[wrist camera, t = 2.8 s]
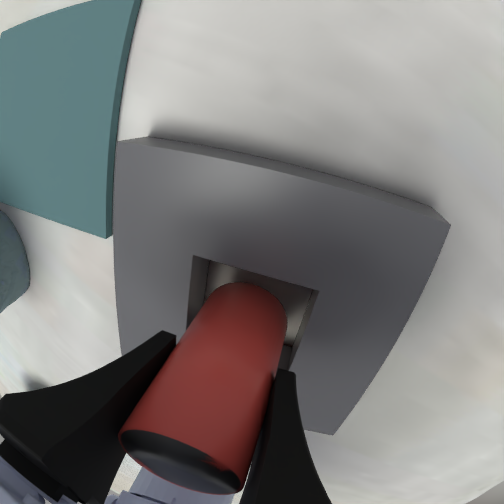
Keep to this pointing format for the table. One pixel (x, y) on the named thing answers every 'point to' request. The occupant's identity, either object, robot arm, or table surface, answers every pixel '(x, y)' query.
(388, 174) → the table surface
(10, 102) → the bench mat
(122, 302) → the square hole block
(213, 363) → the red cylinder
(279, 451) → the robot arm
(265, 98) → the table surface
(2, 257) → the plant pot
